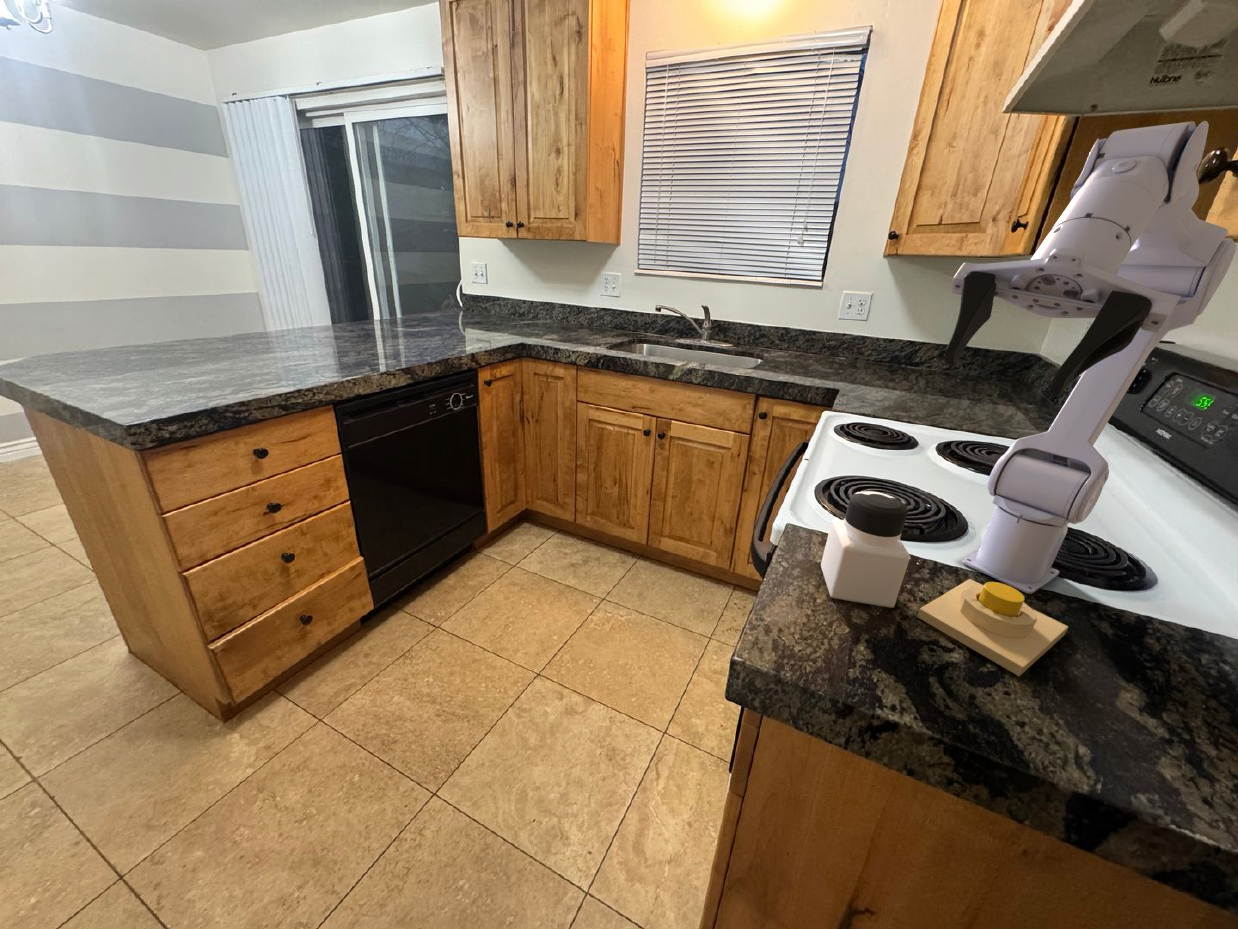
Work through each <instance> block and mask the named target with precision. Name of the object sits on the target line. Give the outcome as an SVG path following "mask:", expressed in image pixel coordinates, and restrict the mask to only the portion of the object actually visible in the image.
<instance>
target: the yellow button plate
mask: <svg viewBox="0 0 1238 929" xmlns="http://www.w3.org/2000/svg"><path fill="white" fill-rule="evenodd" d="M983 587H984V584H981V583H979V582H977V581H976V580H973V579H971V578H969V579H967V580H966V581H963V582H962V583H960V584H959V585H957V586H956V587H953V588H952V589H950V590H948V591H947V592H945V593H944V594H942V595H939V597H937V598H935V599H933V600H931V601H930V602H928V603H927V604H925V605H923V606H922V607H920V608H918V613H917V615H916V618H917V619H920V620H922V621H923V622H924V623H926V624H928V625H930V626H931V627H933V628H935V629H937V630H939V631H940V632H942V633H944V634H946V635H948V636H949V637H950V638H952V639H953V640H956V641H958V642H959V643H961V644H963V645H964V646H966V647H968V648H969V649H970V650H973V651H975V652H976V653H978V654H979V655H982V656H983V657H985V658H986V659H989V660H990V661H992V662H994V663H995V664H997V665H999V666H1001V667H1002V668H1004V669H1006V670H1007V671H1009V672H1011V673H1012V674H1015V676H1018V677H1020V676H1021V675H1023V673H1025V672H1026V671H1027V670H1028V669H1029V668H1031V666H1032V665H1033V664H1035V663H1036V662H1037V661H1038V660H1039V659H1040V658H1041V657H1042V656H1044V655H1045V654H1046V653H1047V652H1048V651H1049V650H1050V649H1051V648H1053V647H1054V645H1056V643H1058V641H1060V640H1061V639H1062V638H1063V637H1064V636H1065V635H1066V634H1067V631H1068V630H1069V626H1068V625H1066V624H1064V623H1062V622H1061V621H1058V620H1056V619H1054V618H1052V617H1049V616H1048V615H1046V614H1044V613H1042V612H1040V611H1038V610H1035V609H1034V608H1032V607H1030V606H1029V605H1028V604H1027V603H1026V602H1025V601H1024V602H1023V605H1022V607H1021V609H1020V611H1019V614H1018V615H1017V616H1016V617H1008V616H1005V615H1001V614H998V613H995V612H993V611H991V610H989V609H987V608H985V607H984V606H983V605H982V604H981V603H979V600H978V599H979V597H980V594H981V592H982V589H983Z"/></svg>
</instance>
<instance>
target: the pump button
mask: <svg viewBox="0 0 1238 929" xmlns="http://www.w3.org/2000/svg"><path fill="white" fill-rule="evenodd" d="M983 585H984V587H983V589H982V592H981V594H980V597H979V599H978V600H979V603H981V604H982V605H983V606H984V607H985V608H987V609H989V610H991V611H993V612H995V613H998V614H1001V615H1005V616H1008V617H1016V616H1017V615H1018V614H1019V611H1020V609H1021V607H1022V605H1023V602H1024V603H1025V598H1026V597H1025V596H1024V594H1023V593H1021V592H1020V590H1019V589H1016V588H1014V587H1012V586H1010V585H1008V584H1006V583H1003V582H997V581H988V582H987V581H986V582H985V583H984V584H983Z"/></svg>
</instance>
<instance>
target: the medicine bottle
mask: <svg viewBox="0 0 1238 929" xmlns="http://www.w3.org/2000/svg"><path fill="white" fill-rule="evenodd" d="M908 514H909V509H908V508H907V506H906V505H905V503H904V502H902V501H900V500H899V499H897V498H896V497H894V496H892V495H890V494H886V493H884V492H879V491H870V490H869V491H868V490H867V491H865V490H864V491H857V492H855V493H853V494H851V495H850V496H849V501H848V504H847V509H846V512H845V516H844V519H840V518H833V519H832V520H831V521H830V527H829V531H828V533H827V534H828V535H827V539H826V543H825V546H824V549H823V554H822V558H821V562H820V568H821V571H822V575H823V578H824V581H825V585H826V587H827V591H828V595H829V597H830V598H831V599H834V600H841V601H847V602H851V603H859V604H864V605H865V604H866V605H872V606H878V607H883V608H890V609H893V608H895V607H896V604H897V601H898V597H899V595H900V592H901V589H902V586H903V582H904V579H905V577H906V574H907V571H908V568H909V564H910V563H911V562H910V561H911V559H912V558H911V555H910V553H909V552H908V550H907V549H906V547H905V545H904V544H903V542H902V541H901V537H902V533H903V530H904V527H905V523H906V520H907V517H908Z"/></svg>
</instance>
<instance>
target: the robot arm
mask: <svg viewBox="0 0 1238 929" xmlns="http://www.w3.org/2000/svg"><path fill="white" fill-rule="evenodd" d="M1209 126H1210V124H1209V123H1208V121H1207V120H1203V121H1201V123H1199V124H1198V126H1196V122H1195V121H1193V120H1192V121H1183V122H1178V123H1169V124H1160V125H1153V126H1144V127H1136V128H1128V129H1119V130H1118V129H1117V130H1115V131H1113V132H1112V133H1111V134H1110V135H1109V136H1108V137H1107V138H1101V139H1100V138H1097V139H1096V141H1095V142H1094V144H1093V146H1092V148H1091V149H1090V152H1089V154H1088V156H1087V158H1086V161H1085V164H1084V166H1083V169H1082V171H1081V173H1080V175H1079V177H1078V178H1077V180H1076V181H1075V183H1074V184H1073V188H1072V189H1071V192H1070V201H1069V203H1068V205H1067V206H1066V207H1065V209H1064V210H1063V212H1062V214H1061V215H1060V217H1058V219H1057V221H1056V222H1055V223H1054V225H1053V226H1052V228H1051V229H1050V231H1049V232H1048V233H1047V234H1046V236H1045V238H1044V240H1042V242H1041V244H1040V245H1039V247H1038V248H1037V250H1035V252H1034V254H1033V256H1032V257H1031V258H1030V259H1023V260H1013V261H1012V260H1011V261H1001V262H988V263H973V262H963V263H962V265H961V266H960V267H959V269H958V270H957V272H956V273H955V275H953V277H952V283H951V285H952V286H951V293H952V294H955V295H959V296H960V295H961V296H960V306H959V312H958V315H957V320H956V324H955V326H954V330H953V332H952V335H951V337H950V340H949V341H948V343H947V346H946V348H945V350H944V360H943V362H944V364H946V365H948V366H954V365H955V364H956V362H957V361H958V360H959V359H960V357H961V355H962V354H963V352H964V350H965V349H966V348H967V346H968V344H969V343H970V341H971V339H972V338H973V337H974V336H975V335H976V334H977V332H979V330H980V329H981V328H982V327H983V326H984V324H986V323H987V322H988V321H989V320H990V319H991V317H992V311H993V307H994V306H993V305H994V298H995V297H996V298H998V299H1000V300H1002V301H1004V302H1007V303H1009V304H1011V305H1014V306H1016V307H1019V308H1020V309H1023V310H1025V311H1028V312H1029V313H1032V314H1034V315H1038V316H1041V317H1045V318H1051V319H1093V321H1092V323H1091V324H1090V326H1089V327H1088V329H1087V331H1086V332H1085V334H1084V336H1083V337H1082V339H1081V340H1080V341H1079V343H1078V344H1077V345H1076V346H1075V348H1074V349H1073V350H1072V351H1071V353H1070V354H1069V355H1068V357H1067V358H1066V359H1065V361H1064V362H1062V364H1061V366H1060V367H1059V369H1058V370H1057V372H1056V374H1055V376H1054V377H1053V379H1052V381H1051V384H1050V386H1049V389H1048V393H1050V394H1054V395H1056V396H1057V395H1060V394H1061V393H1062V392H1063V391H1064V390H1065V389H1066V388H1067V387H1068V386H1069V385H1070V384H1071V383H1072V382H1073V381H1074V380H1075V379H1077V378H1078V377H1079V376H1080V375H1081V376H1080V378H1079V380H1078V381H1077V383H1076V384H1075V386H1074V388H1073V389H1072V390H1071V393H1070V394H1069V396H1068V398H1067V399H1066V401H1065V402H1064V404H1063V406H1061V409H1060V410H1059V412H1058V414H1057V415H1056V417H1055V418H1054V420H1053V421H1052V423H1051V424H1050V427H1048V428H1049V429H1048V430H1046V431H1044V432H1040V433H1037V434H1033V435H1028V436H1024V437H1023V436H1022V437H1020V438H1017V439H1015V441H1014V442H1013V443H1011V445H1010V447H1009V448H1008V449H1007V450H1006V452H1005V453H1004V454H1002V455H1001V456H1000V458H999V459H997V461H996V462H995V464H994V466H993V468H992V470H991V472H990V474H989V477H988V481H987V490H988V493H989V495H990V496H991V497H994V498H993V499H992V500H993V501H992V504H993V505H995V508H994V510H993V513H992V515H991V518H990V520H989V524H988V526H987V528H986V531H985V534H984V536H983V538H982V541H981V544H980V545H979V549H978V551H977V552H974V553H973V554H971V555H969V556H967V557H965V558H964V559H962V564H964V565H965V566H967V567H969V568H972V569H973V570H976V571H978V572H980V573H981V574H984V575H987V576H988V577H991V578H993V579H995V580H998V581H1000V583H1003V584H1005V585H1008V586H1010V587H1012V588H1014V589H1016V590H1018V591H1021V592H1023V593H1025V594H1027V595H1032V594H1034V593H1036V592H1037V591H1038V590H1039V589H1041V588H1042V587H1044V586H1045V585H1046V584H1048V583H1049V582H1050V581H1052V580H1053V579H1055V578H1056V577H1058V575H1060V570H1058V569H1056V568H1053V564H1054V561H1055V559H1056V557H1057V555H1058V554H1059V551H1060V549H1061V547H1062V544H1063V542H1064V540H1065V538H1066V536H1067V533H1068V529H1069V528H1068V526H1069V524H1073V525H1077V524H1079V523H1082V522H1084V521H1085V520H1087V518H1088V517H1089V515H1090V514H1091V513H1092V511H1093V510H1094V507H1095V506H1096V505H1097V502H1098V501H1099V498H1100V496H1101V494H1102V492H1103V489H1104V486H1105V484H1107V481H1108V478H1109V475H1110V469H1109V462H1108V461H1107V460H1106V458H1104V456H1103V455H1102V454H1101V453H1100V452H1099V451H1098V450H1097V449H1096V448H1095V446H1094V445H1095V443H1096V442H1097V440H1098V439H1099V437H1100V436H1101V435H1102V432H1103V430H1104V429H1105V427H1106V425H1107V424H1108V422H1109V421H1110V420H1111V417H1113V414H1114V413H1115V411H1116V409H1117V408H1118V406H1119V405H1120V403H1121V402H1122V400H1123V398H1124V396H1125V394H1126V393H1127V391H1128V390H1129V388H1130V387H1131V385H1132V383H1133V382H1134V381H1135V378H1136V377H1137V375H1138V373H1139V372H1140V370H1141V368H1142V367H1143V365H1144V364H1145V362H1146V360H1147V359H1148V357H1149V355H1150V354H1151V352H1152V351H1153V350H1154V349H1155V348H1156V347H1157V345H1158V344H1160V342H1161V341H1162V339H1164V338H1165V337H1166V335H1168V333H1169V332H1170V331H1173V330H1177V329H1180V328H1184V327H1188V326H1190V325H1193V324H1194V323H1195V322H1196V320H1197V319H1198V317H1199V316H1201V315H1202V314H1203V313H1204V311H1205V309H1206V308H1207V306H1208V305H1209V304H1210V301H1211V300H1212V298H1213V297H1214V295H1215V293H1216V292H1217V290H1218V288H1219V287H1220V285H1221V284H1222V283H1223V281H1224V278H1225V276H1226V275H1227V272H1228V271H1229V268H1230V266H1231V264H1232V262H1233V260H1234V257H1235V254H1236V251H1237V243H1236V242H1235V241H1234V239H1233V238H1232V237H1227V236H1228V234H1229V230H1228V228H1226V227H1223V226H1220V225H1217V224H1214V223H1211V222H1209V221H1206V220H1202V219H1200V218H1199V217H1198V216H1197V215H1196V214H1195V212H1194V211H1193V207H1194V205H1195V203H1196V202H1197V199H1198V198H1199V193H1200V184H1199V180H1198V175H1197V170H1198V169H1199V166H1200V164H1201V162H1202V159H1203V156H1204V152H1205V151H1204V150H1205V147H1206V143H1207V138H1208V132H1209ZM1226 237H1227V238H1226Z"/></svg>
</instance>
